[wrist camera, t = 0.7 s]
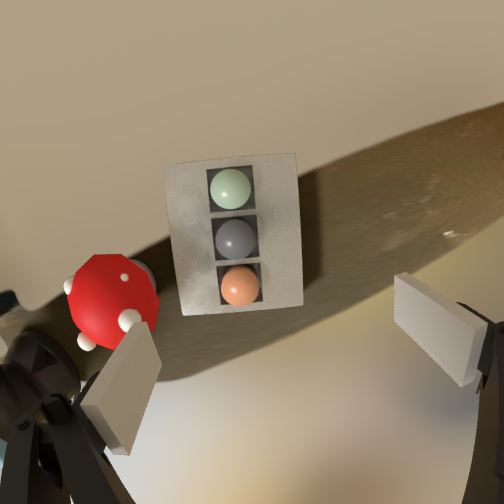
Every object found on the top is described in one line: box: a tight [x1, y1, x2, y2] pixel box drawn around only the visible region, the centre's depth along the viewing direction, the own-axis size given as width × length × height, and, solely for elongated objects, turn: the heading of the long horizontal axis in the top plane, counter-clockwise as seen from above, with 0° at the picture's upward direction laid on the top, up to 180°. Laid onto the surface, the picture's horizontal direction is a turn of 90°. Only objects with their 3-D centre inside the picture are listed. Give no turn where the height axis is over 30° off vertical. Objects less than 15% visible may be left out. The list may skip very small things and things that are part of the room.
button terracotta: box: [221, 265, 259, 306], centre depth 32 cm, size 4×4×2 cm
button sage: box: [210, 169, 251, 209], centre depth 29 cm, size 4×4×2 cm
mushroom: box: [63, 254, 160, 351], centre depth 30 cm, size 11×11×12 cm
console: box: [163, 153, 303, 315], centre depth 33 cm, size 14×17×4 cm
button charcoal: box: [215, 218, 255, 260], centre depth 31 cm, size 4×4×2 cm
